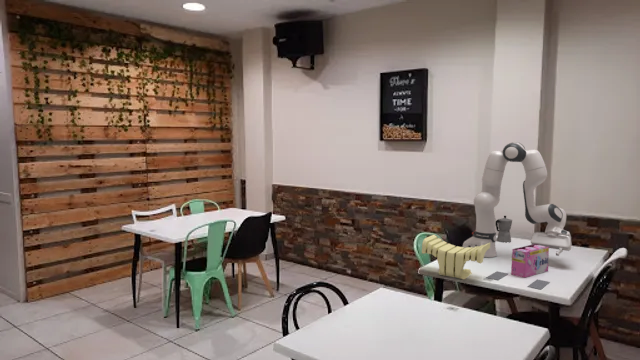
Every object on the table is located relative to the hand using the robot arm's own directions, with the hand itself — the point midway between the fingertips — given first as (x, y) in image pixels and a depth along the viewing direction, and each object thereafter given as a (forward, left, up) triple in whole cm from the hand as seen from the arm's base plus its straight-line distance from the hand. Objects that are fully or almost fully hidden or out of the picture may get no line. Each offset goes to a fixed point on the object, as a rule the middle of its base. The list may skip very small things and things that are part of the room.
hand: (547, 253), depth 246 cm
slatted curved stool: (-31, -49, -8) cm, 58 cm away
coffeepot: (-41, +48, -8) cm, 64 cm away
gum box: (-4, -17, -8) cm, 19 cm away
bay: (-4, -35, -8) cm, 36 cm away
